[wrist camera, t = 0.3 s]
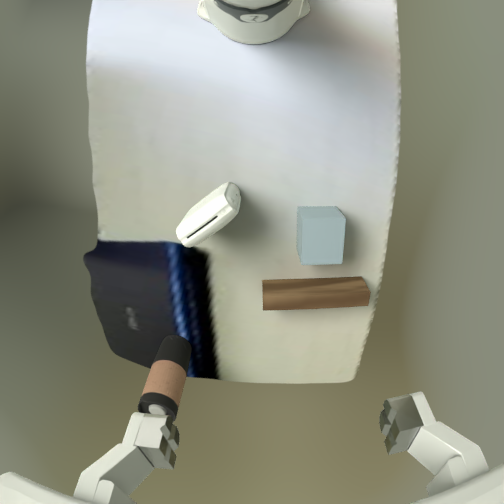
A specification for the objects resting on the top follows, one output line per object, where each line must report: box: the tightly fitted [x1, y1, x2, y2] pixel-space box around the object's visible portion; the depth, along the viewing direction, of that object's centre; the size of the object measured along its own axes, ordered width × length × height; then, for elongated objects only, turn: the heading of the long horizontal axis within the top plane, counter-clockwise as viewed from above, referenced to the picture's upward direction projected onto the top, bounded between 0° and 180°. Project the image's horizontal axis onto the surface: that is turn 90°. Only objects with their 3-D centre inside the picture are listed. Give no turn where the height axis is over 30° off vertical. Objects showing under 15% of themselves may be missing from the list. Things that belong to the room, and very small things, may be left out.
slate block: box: [297, 207, 346, 265], centre depth 52 cm, size 8×7×7 cm
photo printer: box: [176, 182, 241, 247], centre depth 48 cm, size 10×4×12 cm, turn 126°
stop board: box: [262, 277, 371, 310], centre depth 58 cm, size 3×20×6 cm, turn 92°
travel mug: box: [138, 335, 192, 422], centre depth 59 cm, size 8×8×20 cm
